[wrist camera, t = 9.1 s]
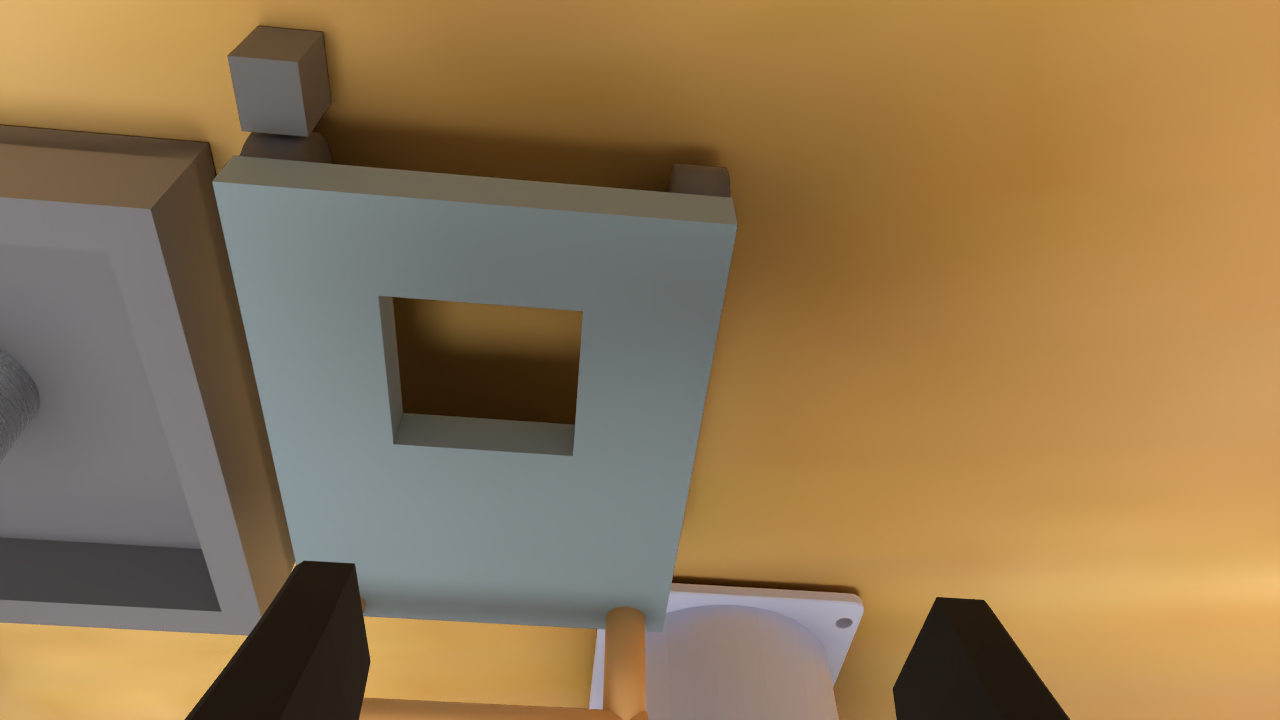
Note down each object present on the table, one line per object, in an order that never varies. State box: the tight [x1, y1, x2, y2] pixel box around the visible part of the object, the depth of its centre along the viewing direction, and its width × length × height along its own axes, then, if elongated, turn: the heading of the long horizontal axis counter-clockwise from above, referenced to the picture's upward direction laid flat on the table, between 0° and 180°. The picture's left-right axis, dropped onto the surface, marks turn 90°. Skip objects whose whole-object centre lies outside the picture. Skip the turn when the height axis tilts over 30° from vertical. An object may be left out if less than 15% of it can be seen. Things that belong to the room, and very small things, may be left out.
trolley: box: [212, 26, 738, 720], centre depth 19 cm, size 14×9×7 cm
